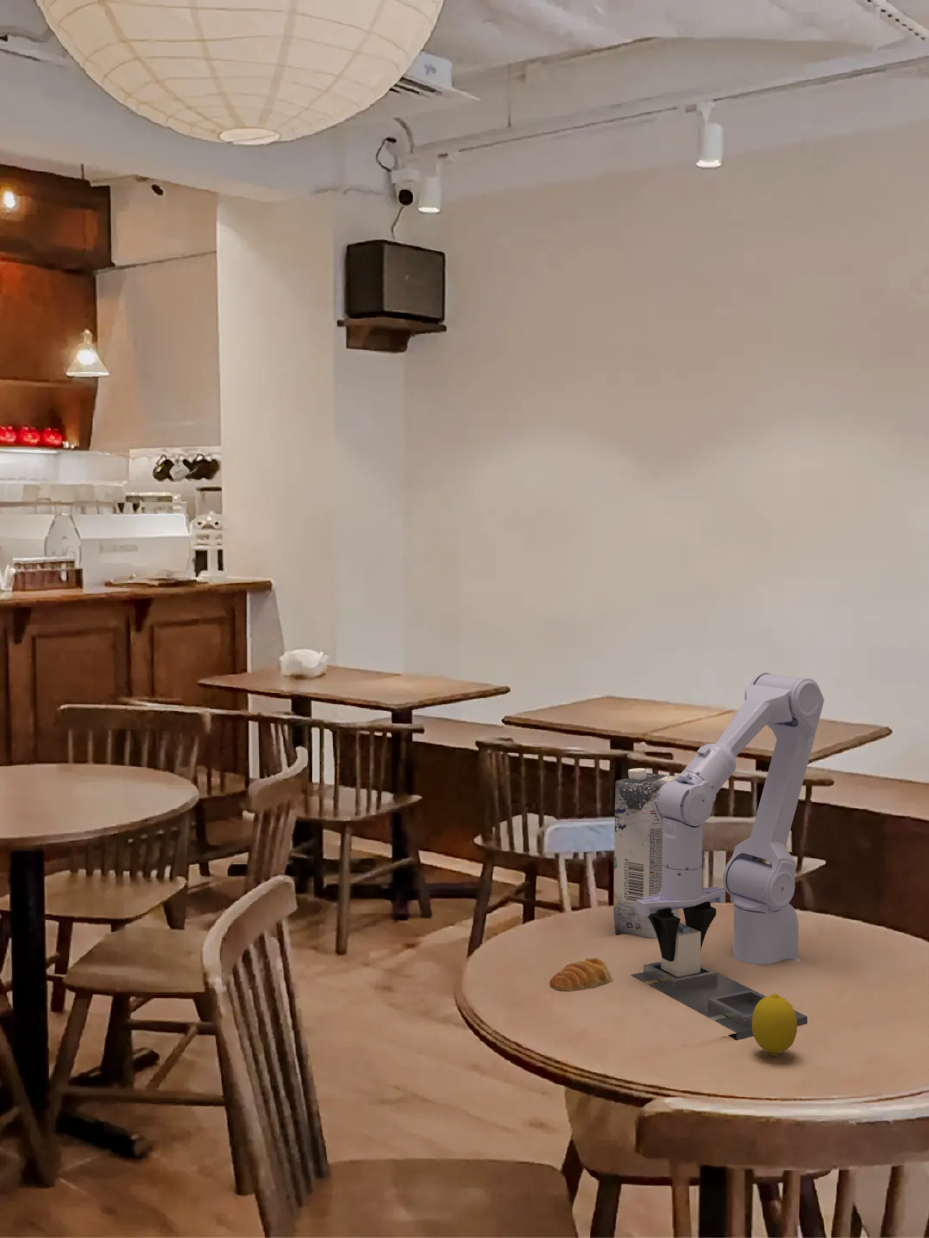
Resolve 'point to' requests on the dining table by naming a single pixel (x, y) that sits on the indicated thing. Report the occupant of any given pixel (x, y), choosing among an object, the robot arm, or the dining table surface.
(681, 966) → the plug
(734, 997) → the panel
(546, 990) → the dining table surface
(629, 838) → the juice carton
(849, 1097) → the dining table surface
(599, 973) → the pastry
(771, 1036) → the lemon
